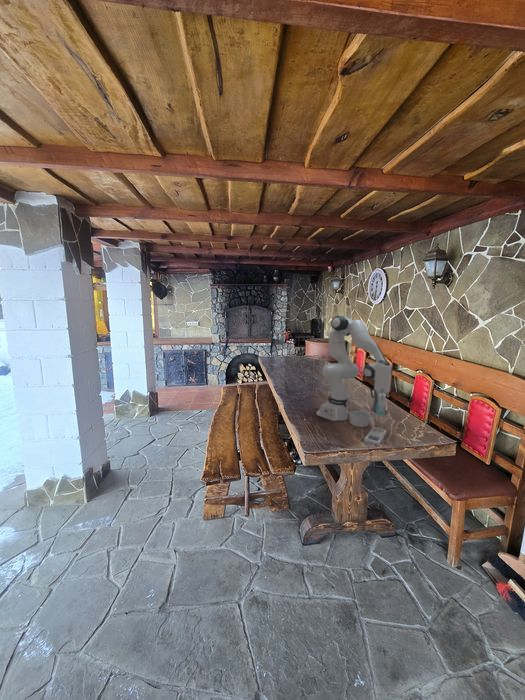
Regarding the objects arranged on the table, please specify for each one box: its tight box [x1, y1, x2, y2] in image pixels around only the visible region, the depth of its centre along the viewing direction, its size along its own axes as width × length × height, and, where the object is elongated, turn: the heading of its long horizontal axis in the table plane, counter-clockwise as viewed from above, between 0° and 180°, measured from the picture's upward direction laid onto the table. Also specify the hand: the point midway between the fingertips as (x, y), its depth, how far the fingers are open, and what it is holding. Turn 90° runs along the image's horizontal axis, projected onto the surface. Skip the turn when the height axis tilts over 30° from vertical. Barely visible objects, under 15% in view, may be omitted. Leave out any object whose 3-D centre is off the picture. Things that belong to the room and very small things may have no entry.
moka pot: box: [369, 385, 390, 413], centre depth 211 cm, size 10×15×20 cm, turn 39°
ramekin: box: [348, 410, 371, 428], centre depth 187 cm, size 13×13×7 cm
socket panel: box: [363, 426, 388, 446], centre depth 169 cm, size 8×20×2 cm, turn 145°
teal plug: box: [375, 402, 386, 417], centre depth 171 cm, size 4×4×9 cm
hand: (380, 409), depth 171 cm, fingers closed on teal plug, 5 cm apart
